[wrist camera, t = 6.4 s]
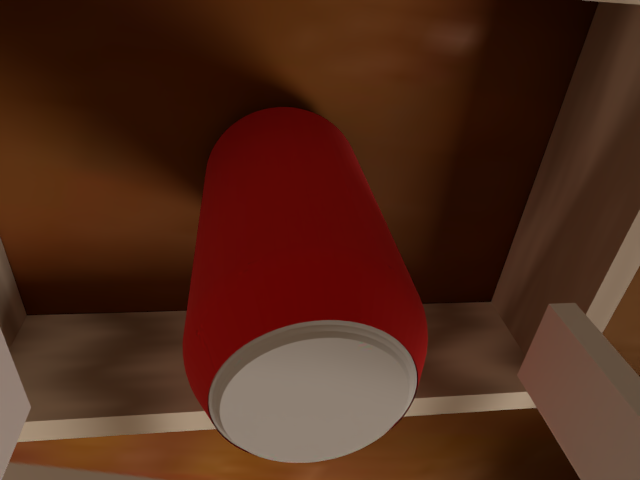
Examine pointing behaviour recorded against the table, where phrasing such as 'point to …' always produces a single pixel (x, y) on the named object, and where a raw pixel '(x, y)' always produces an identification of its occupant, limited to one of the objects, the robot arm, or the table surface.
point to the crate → (442, 318)
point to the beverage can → (298, 295)
